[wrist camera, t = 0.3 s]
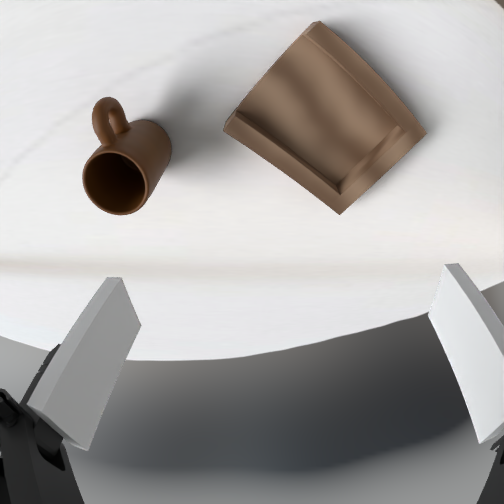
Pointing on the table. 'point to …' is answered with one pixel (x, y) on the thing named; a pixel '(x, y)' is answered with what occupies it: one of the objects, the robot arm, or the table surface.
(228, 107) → the table surface
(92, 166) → the mug
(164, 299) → the table surface
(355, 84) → the u rest
